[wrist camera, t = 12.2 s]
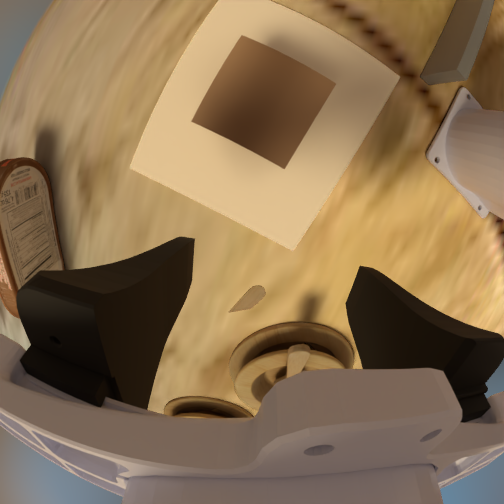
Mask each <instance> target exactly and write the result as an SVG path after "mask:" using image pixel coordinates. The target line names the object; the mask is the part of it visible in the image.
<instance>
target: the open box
mask: <svg viewBox="0 0 504 504" xmlns="http://www.w3.org/2000/svg"><path fill="white" fill-rule="evenodd" d="M493 4H494V0H457V1H456V3H455V5H454V8H453V10H452V12H451V15H450V17H449V19H448V21H447V23H446V25H445V28H444V30H443V32H442V34H441V36H440V38H439V40H438V42H437V44H436V46H435V48H434V50H433V52H432V54H431V56H430V58H429V60H428V62H427V64H426V66H425V68H424V70H423V72H422V74H421V76H420V77H421V78H422V79H423V80H424V81H425V82H426V83H427V84H428V85H433V84H440V83H448V82H456V81H466V80H467V79H468V77H469V74H470V72H471V69H472V67H473V64H474V62H475V59H476V57H477V54H478V51H479V49H480V46H481V43H482V40H483V37H484V34H485V31H486V28H487V25H488V22H489V18H490V15H491V11H492V8H493Z"/></svg>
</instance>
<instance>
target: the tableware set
mask: <svg viewBox="0 0 504 504" xmlns="http://www.w3.org/2000/svg"><path fill="white" fill-rule="evenodd" d="M265 294H266V292H265V289H264V288H263V287H262V286H253V287H252V288H250V289H249V290H248V291H247V292H246V293H245V294H244V295H243V297H242V298H241V299H240V300H239V301H238V302H237V303H236V304H235V305H234V307H233V308H232V309H231V310H230V311H229V312H234V311H240V310H246V309H251V308H252V307H253V306H255V305H256V304H257V303H258V302H259V301H260V300H261V299H262V298H263V297H264V296H265ZM303 343H308V344H309V345H311V346H312V347H313V348H314V349H315V350H317V351H315V350H310V347H309V346H308V345H305V344H303ZM353 364H354V355H353V351H352V349H351V346H350V344H349V343H348V342H347V340H346V339H345V338H344V337H343V336H342V335H340V334H339V333H337V332H336V331H334V330H332V329H330V328H328V327H325V326H322V325H318V324H313V323H300V322H297V323H284V324H278V325H274V326H270V327H267V328H264V329H262V330H259V331H257V332H255V333H253V334H252V335H250V336H248V337H247V338H245V339H244V340H243V341H242V342H241V343H240V344H238V346H237V347H236V348H235V350H234V351H233V353H232V356H231V358H230V362H229V372H230V376H231V379H232V381H233V382H234V388H235V392H236V394H237V396H238V397H239V399H240V400H241V401H242V402H243V403H245V404H246V405H247V406H249V407H251V408H253V409H255V410H257V411H259V408H260V405H261V403H262V400H263V397H264V396H265V395H266V394H267V393H268V392H269V391H270V390H271V388H272V387H273V386H274V385H275V384H276V383H277V382H279V381H281V380H284V379H286V378H288V377H291V376H293V375H295V374H298V373H300V372H302V371H308V370H318V369H327V368H339V369H352V368H353ZM164 415H168V416H172V417H186V418H248V417H253V416H252V415H251V414H250V413H249V412H248V411H246V410H245V409H243V408H241V407H239V406H237V405H234V404H232V403H229V402H226V401H223V400H219V399H214V398H208V397H198V396H189V397H181V398H176V399H173V400H171V401H170V402H168V403H167V404H166V406H165V408H164Z"/></svg>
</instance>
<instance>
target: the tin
mask: <svg viewBox="0 0 504 504" xmlns="http://www.w3.org/2000/svg"><path fill="white" fill-rule="evenodd" d="M40 270H64V262H63V257H62V253H61V248H60V243H59V238H58V232H57V226H56V220H55V214H54V206H53V198H52V191H51V185H50V181H49V178H48V176H47V174H46V171H45V170H44V168H43V167H42V166H41V165H40V164H39V163H38V162H37V161H35V160H33V159H31V158H24V157H23V158H16V159H6V160H3V161H1V162H0V297H1V300H2V302H3V304H4V306H5V307H6V309H7V310H8V311H9V312H10V313H11V314H12V315H13V316H15V317H17V318H20V317H19V314H18V310H17V304H16V296H17V292H18V290H19V289H20V288H21V287H22V286H23V285H24V284H25V283H26V282H27V281H28V280H30V279H31V278H32V277H33V276H34V275H35V274H36V273H37V272H38V271H40Z"/></svg>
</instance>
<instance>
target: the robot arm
mask: <svg viewBox="0 0 504 504" xmlns="http://www.w3.org/2000/svg"><path fill="white" fill-rule="evenodd" d="M467 96H468V99H467ZM426 157H427V160H428V161H429V162H430V163H431V164H432V165H433V166H434V167H435V168H436V169H437V170H438V171H440V173H441V174H442V175H443V176H444V177H445V178H446V179H447V180H448V181H449V182H450V183H451V184H452V185H453V186H454V187H455V188H456V189H457V190H458V191H459V193H460V194H461V195H462V196H463V197H464V198H465V199H466V200H467V202H468V203H469V204H470V205H471V206H472V207H473V209H474V210H475V211H476V212H477V213H478V215H479V216H480V217H481V218H485V217H486V216H487V214H488V213H489V211H490V212H492V213H493V214H495V215H497V216H498V217H500V218H502V219H504V111H498V110H486V109H483V108H482V107H481V105H480V104H479V103H478V102H477V100H476V99H475V98H474V97H473V96H472V95H471V93H470V92H469V91H468V90H467V89H466V88H464V87H461V88H459V90H458V92H457V95H456V97H455V99H454V101H453V103H452V105H451V107H450V109H449V111H448V113H447V115H446V117H445V119H444V121H443V123H442V125H441V127H440V129H439V131H438V133H437V135H436V136H435V138H434V140H433V142H432V144H431V146H430V147H429V149H428V151H427V153H426ZM436 157H437V161H436V162H435V158H436ZM478 207H479V208H478ZM194 242H195V239H193V238H187V237H178V238H175V239H173V240H171V241H168V242H166V243H164V244H162V245H160V246H158V247H156V248H153V249H151V250H149V251H146V252H144V253H141V254H139V255H137V256H134V257H131V258H128V259H125V260H122V261H118V262H115V263H111V264H106V265H101V266H97V267H91V268H84V269H74V270H40V271H38V272H37V273H36V274H35V275H34V276H33V277H32V278H31V279H30V280H28V281H27V282H26V283H25V284H24V285H23V286H22V287H21V288H20V289H19V290H18V292H17V296H16V304H17V310H18V314H19V317H20V319H21V322H22V324H23V327H24V329H25V332H26V334H27V336H28V339H29V341H30V343H31V346H30V347H29V348H28V350H27V351H26V350H25V349H24V348H23V347H22V346H21V345H20V344H18V343H17V342H15V341H13V340H11V339H9V338H8V337H6V336H4V335H3V334H0V426H2V427H3V428H4V429H5V430H7V431H8V432H9V433H11V434H12V435H13V436H15V437H17V438H18V439H19V440H20V441H22V442H23V443H25V444H26V445H28V446H29V447H30V448H32V449H33V450H35V451H37V452H38V453H39V454H41V455H43V456H44V457H46V458H47V459H49V460H50V461H52V462H54V463H55V464H57V465H59V466H61V467H62V468H64V469H66V470H68V471H69V472H71V473H73V474H75V475H77V476H79V477H81V478H83V479H85V480H87V481H89V482H91V483H93V484H95V485H97V486H99V487H101V488H104V489H106V490H108V491H110V492H113V493H115V494H118V495H120V496H123V500H122V503H121V504H443V500H442V496H441V493H440V488H442V487H445V486H447V485H449V484H451V483H453V482H455V481H457V480H459V479H461V478H463V477H465V476H467V475H469V474H471V473H473V472H475V471H477V470H479V469H481V468H483V467H484V466H486V465H487V464H489V463H490V462H491V461H493V460H494V459H496V458H497V457H498V456H499V455H501V454H502V453H503V452H504V391H503V392H500V393H498V394H494V395H493V396H490V397H489V398H486V397H485V395H484V393H486V392H487V390H488V388H487V386H486V384H485V382H487V380H488V379H489V378H490V377H491V375H492V374H493V373H494V372H495V370H496V369H497V368H498V366H499V365H500V363H501V362H502V360H503V358H504V338H503V337H502V336H501V335H500V334H498V333H494V332H491V331H487V330H483V329H480V328H477V327H474V326H471V325H468V324H465V323H463V322H461V321H458V320H456V319H454V318H452V317H450V316H447V315H445V314H443V313H441V312H439V311H438V310H436V309H434V308H432V307H431V306H429V305H427V304H426V303H424V302H422V301H421V300H419V299H418V298H416V297H415V296H413V295H412V294H411V293H409V292H408V291H406V290H405V289H403V288H402V287H401V286H399V285H398V284H397V283H395V282H394V281H392V280H391V279H390V278H388V277H387V276H385V275H384V274H382V273H381V272H379V271H377V270H375V269H373V268H370V267H364V266H360V267H359V270H358V273H357V275H356V278H355V281H354V283H353V286H352V289H351V291H350V294H349V296H348V299H347V302H346V309H347V316H348V321H349V325H350V328H351V331H352V334H353V337H354V340H355V344H356V347H357V350H358V353H359V356H360V359H361V363H362V367H363V369H339V368H327V369H318V370H308V371H302V372H300V373H298V374H295V375H293V376H291V377H288V378H286V379H284V380H281V381H279V382H277V383H276V384H275V385H274V386H273V387H272V388H271V390H270V391H269V392H268V393H267V394H266V395H265V396H264V397H263V400H262V403H261V405H260V408H259V411H258V413H257V414H256V416H255V417H248V418H186V417H172V416H168V415H164V414H160V413H156V412H153V411H149V410H147V408H148V404H149V399H150V395H151V391H152V387H153V383H154V379H155V376H156V372H157V369H158V365H159V362H160V359H161V355H162V352H163V349H164V346H165V343H166V341H167V338H168V336H169V334H170V332H171V330H172V327H173V325H174V323H175V321H176V319H177V317H178V315H179V313H180V311H181V309H182V307H183V305H184V302H185V300H186V298H187V295H188V292H189V289H190V285H191V282H192V272H193V256H194Z"/></svg>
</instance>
